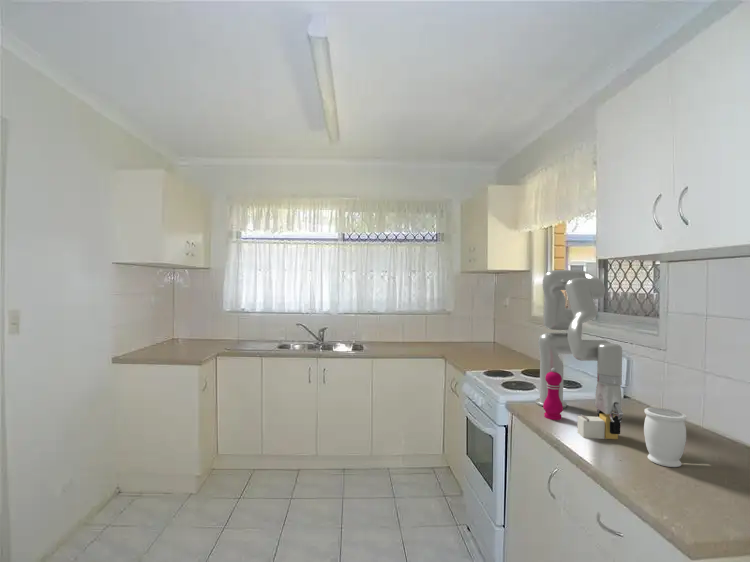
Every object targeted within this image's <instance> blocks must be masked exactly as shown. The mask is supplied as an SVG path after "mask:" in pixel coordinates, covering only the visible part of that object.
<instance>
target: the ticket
mask: <svg viewBox="0 0 750 562" xmlns="http://www.w3.org/2000/svg"><path fill="white" fill-rule="evenodd" d="M577 434H579V435H580V437H582V438H583V439H602V440H603V439H604V440H605V438H604V436H605V421H604V420H602V419H601V418H599V417H598V416H591V415H589V416H588V415H584V414H580V415H577Z"/></svg>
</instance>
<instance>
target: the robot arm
mask: <svg viewBox="0 0 750 562" xmlns="http://www.w3.org/2000/svg"><path fill="white" fill-rule="evenodd" d="M542 290H543V294H544V305H543V306H544V307H543V326H544V327H545V328H546V329H548V330H551V331H552V330H553V331H566V332H545V333H542V334H540V335H539V337H538V340H537V345H538V351H539V363H540V364H539V398H537V399H536V400H535V403H536V404H537V405H538V406H541V407H543V404H544V401H545V399H546V398H547V395H548V388H547V381H546V380H545V377H546V374H547V373H549V372H552V371H551V369H552V368H555V369H556V372H557V373H559V374H560V375H561V377H562V381H561V383H560V384H559V385H560V389H559V398H560V400H561V402H562V405H563V409H565V408H567V403H568V402H566V401H564V363H563V361H562V359H561V358H560V355H572V356H573V357H574V358H575V359H576V360H577V361H585V362H586V361H587V362H591V361H592V362H597V363H596V364H597V365H596V367H597V368H596V369H597V372H596V374H597V375H596V376H597V377H596V386H595V387H596V389H595V399H594V400H595V402H594V406H595V407H596V412H597V417H599V414H609V415H610V418H611V422H610V433H611V434H618V435H620V434H621V424H622V420H623V415H624V413H623V409H622V408H623V407H622V406H623V404H622V401H623V399H622V388H621V386H622V384H623V383H622V381H623V375H622V374H623V373H622V372H623V347H622V346H621V345H620V344H617V343H612V342H610V341H608V340H603V339H582V336H583V335H582V332H583V323H586V322H589V321H591V320H594V319H595V318H597V316H598V309H597V306H596V304H595V301H594V300H600V299H602V298H604V296H605V294H606V286H605V284H604V282H603V281H602V280H601V278H599V277H597V276H596V275H594V274H591V273H589V272H588V271H585V270H573V269H572V270H571V269H567V270H566V269H555V270H553V269H552V270H549V271H547V272H546V273H545V274H544V275H543V279H542ZM563 291H565V292H566V294H567V295H566V296H567V298H566V296H565V294H564V292H563ZM567 299H568V301H569V302H568V303H569V305H570V308H566V302H567V301H566V300H567ZM613 416H615V417H613Z"/></svg>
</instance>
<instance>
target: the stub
mask: <svg viewBox="0 0 750 562" xmlns="http://www.w3.org/2000/svg"><path fill="white" fill-rule="evenodd" d="M615 416H616V415H613V417H615ZM599 418H601V419H602V420H604V421H605V436H604V439H605V440H607V439H609V440H618V439H619V434H611V433H610V422H611V418H610V415H609V414H599Z"/></svg>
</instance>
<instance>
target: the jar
mask: <svg viewBox="0 0 750 562" xmlns="http://www.w3.org/2000/svg"><path fill="white" fill-rule="evenodd" d="M644 414H645V415H646V416H645V418H644V424H643V434H644V435H643V436H644V440H645V447H646V449H647V451H648V454H647V459H648V460H650V461H651V463H654V464H656V465H659V466H664V467H669V468H678V467H681V466H682V462H681V458H682V457H683V454H684V451H685V446H686V442H687V427H686V423H685V421H686V420H687V415H686V414H685V413H683V412H680V411H676V410H673V409H669V408H668V409H667V408H661V407H645V408H644Z"/></svg>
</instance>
